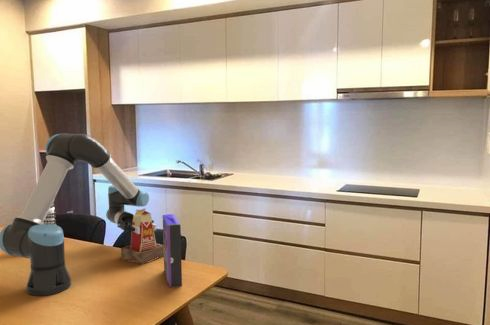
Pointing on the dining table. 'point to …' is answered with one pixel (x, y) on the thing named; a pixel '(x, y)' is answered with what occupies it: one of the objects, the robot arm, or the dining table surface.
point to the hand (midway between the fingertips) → (147, 229)
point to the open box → (142, 254)
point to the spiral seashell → (50, 215)
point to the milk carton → (143, 232)
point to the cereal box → (172, 250)
